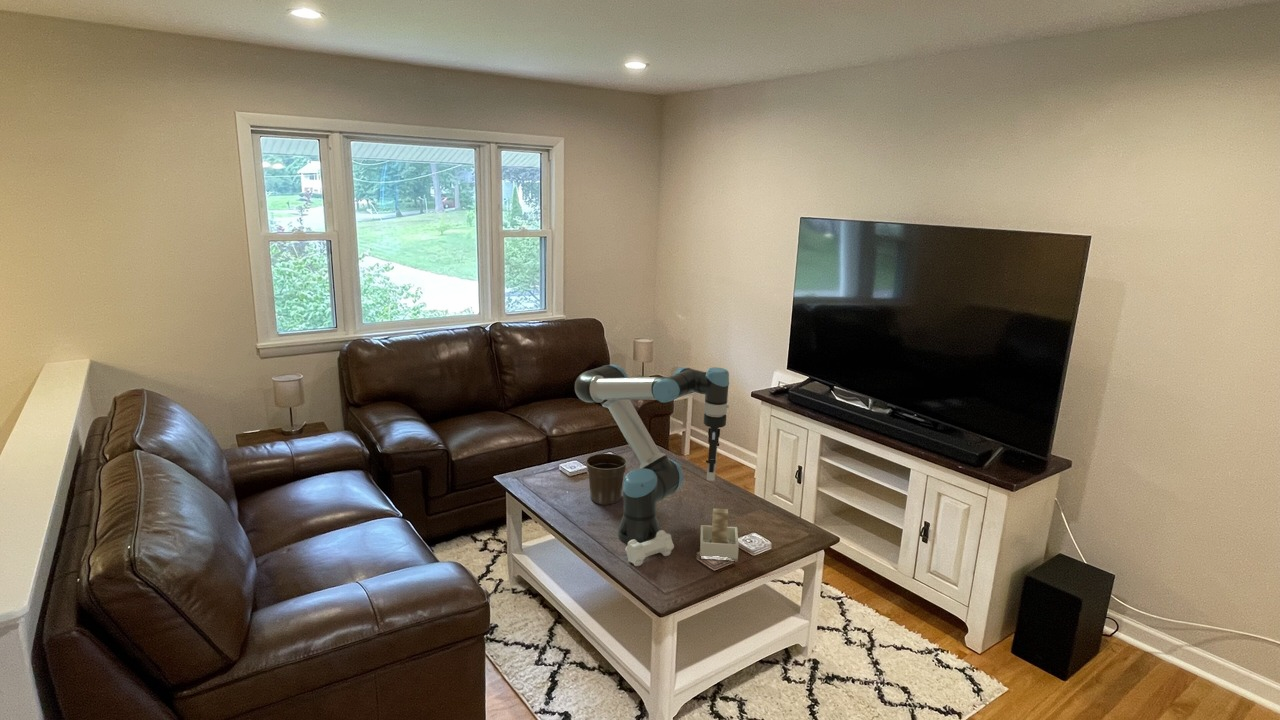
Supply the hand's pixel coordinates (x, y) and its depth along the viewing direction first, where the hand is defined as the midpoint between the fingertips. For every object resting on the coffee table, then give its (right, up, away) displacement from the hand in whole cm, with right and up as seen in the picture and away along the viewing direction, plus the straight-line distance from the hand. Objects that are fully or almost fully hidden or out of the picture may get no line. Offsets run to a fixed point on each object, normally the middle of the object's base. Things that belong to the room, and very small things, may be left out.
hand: (711, 471), depth 231 cm
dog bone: (-21, -28, -6) cm, 36 cm away
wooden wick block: (+2, -26, -2) cm, 26 cm away
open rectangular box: (+2, -27, -1) cm, 27 cm away
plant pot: (-38, -17, +36) cm, 55 cm away
